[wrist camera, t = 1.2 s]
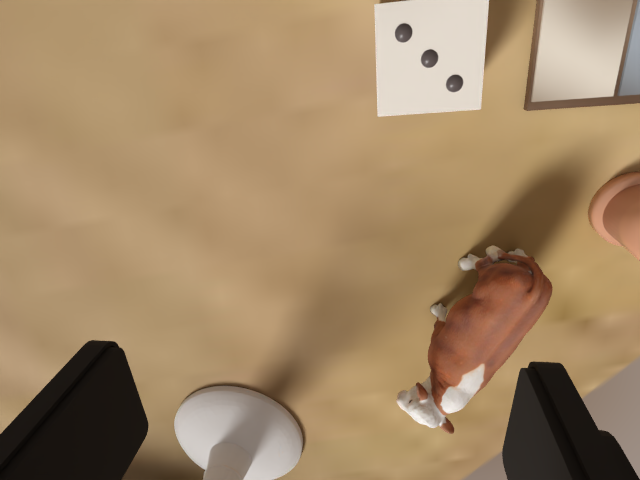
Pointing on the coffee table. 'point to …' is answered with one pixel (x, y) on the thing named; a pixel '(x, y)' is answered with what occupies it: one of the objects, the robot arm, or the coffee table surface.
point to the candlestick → (238, 434)
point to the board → (584, 54)
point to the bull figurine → (477, 334)
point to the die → (430, 55)
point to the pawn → (618, 212)
